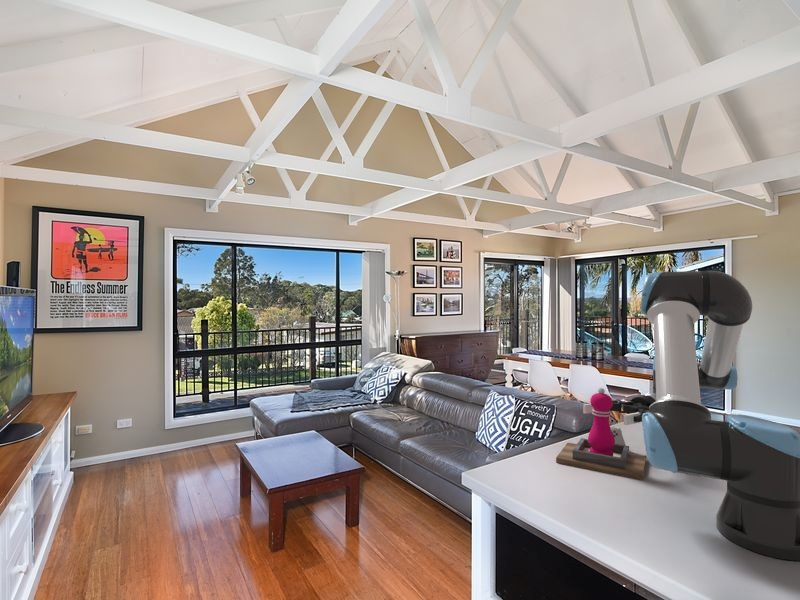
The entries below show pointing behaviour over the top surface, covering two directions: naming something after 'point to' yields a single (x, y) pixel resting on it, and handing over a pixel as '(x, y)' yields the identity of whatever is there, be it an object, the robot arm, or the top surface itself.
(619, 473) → the socket board
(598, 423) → the pepper mill
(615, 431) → the gaming controller
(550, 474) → the top surface
